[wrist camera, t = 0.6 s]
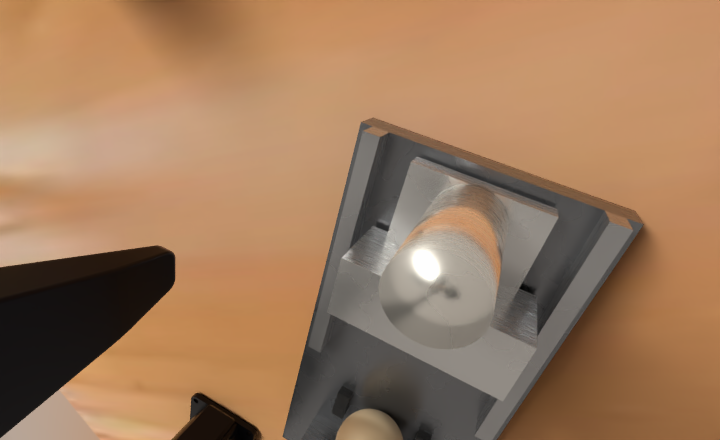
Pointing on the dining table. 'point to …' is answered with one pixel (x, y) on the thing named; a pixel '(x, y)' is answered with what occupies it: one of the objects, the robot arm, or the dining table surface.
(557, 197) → the press base
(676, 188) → the dining table surface
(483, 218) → the ram
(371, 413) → the tan ball
